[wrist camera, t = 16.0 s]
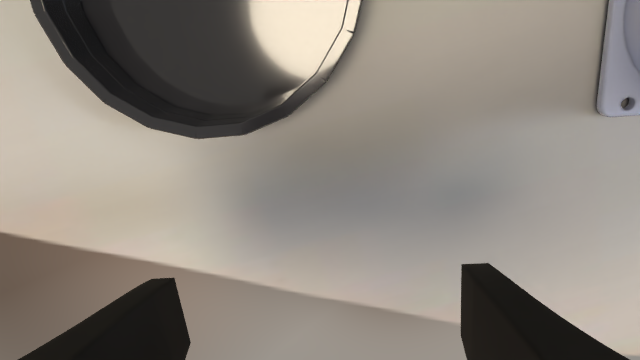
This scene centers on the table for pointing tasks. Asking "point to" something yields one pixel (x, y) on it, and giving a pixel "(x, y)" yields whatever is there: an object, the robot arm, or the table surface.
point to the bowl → (201, 57)
